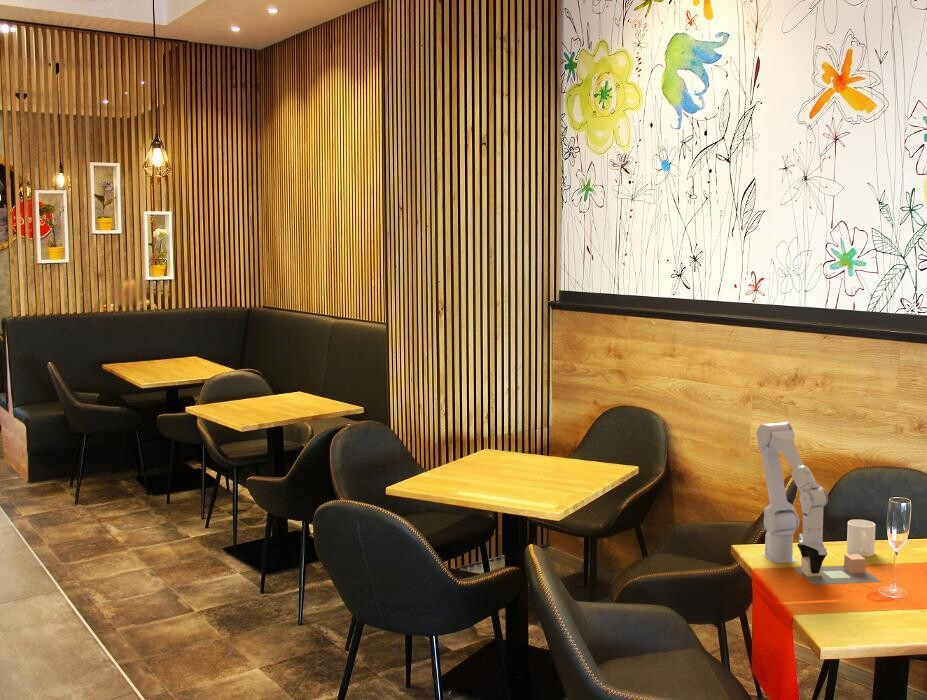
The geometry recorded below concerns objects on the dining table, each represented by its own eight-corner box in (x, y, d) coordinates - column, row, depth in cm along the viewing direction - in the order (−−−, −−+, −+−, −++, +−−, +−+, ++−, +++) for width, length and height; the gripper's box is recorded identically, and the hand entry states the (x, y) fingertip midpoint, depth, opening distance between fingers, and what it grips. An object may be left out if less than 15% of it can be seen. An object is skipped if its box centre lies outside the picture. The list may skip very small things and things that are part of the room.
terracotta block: (843, 568, 288) (844, 554, 287) (857, 567, 288) (858, 553, 288) (851, 573, 284) (851, 559, 283) (865, 573, 284) (865, 558, 283)
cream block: (801, 571, 286) (801, 557, 286) (815, 570, 287) (815, 556, 286) (807, 576, 282) (807, 562, 281) (821, 575, 282) (822, 561, 282)
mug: (878, 563, 294) (879, 531, 293) (850, 561, 296) (851, 529, 295) (872, 550, 305) (873, 520, 304) (845, 548, 307) (846, 518, 306)
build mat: (793, 569, 289) (793, 567, 289) (858, 566, 291) (858, 564, 291) (813, 586, 275) (813, 584, 275) (881, 583, 277) (881, 581, 277)
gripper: (789, 520, 289) (788, 562, 291) (810, 535, 275) (809, 579, 277) (811, 519, 290) (810, 561, 292) (833, 534, 276) (832, 578, 277)
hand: (811, 570), depth 284 cm, fingers closed on cream block, 4 cm apart
